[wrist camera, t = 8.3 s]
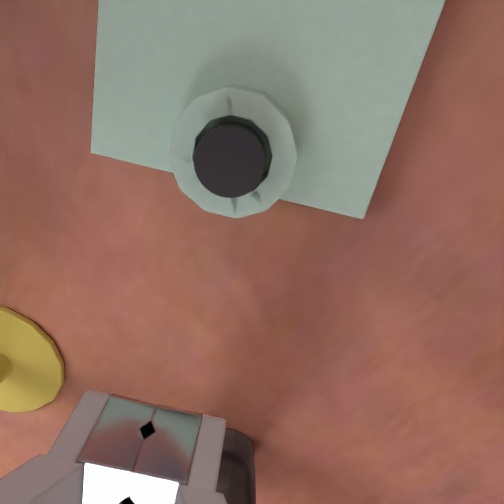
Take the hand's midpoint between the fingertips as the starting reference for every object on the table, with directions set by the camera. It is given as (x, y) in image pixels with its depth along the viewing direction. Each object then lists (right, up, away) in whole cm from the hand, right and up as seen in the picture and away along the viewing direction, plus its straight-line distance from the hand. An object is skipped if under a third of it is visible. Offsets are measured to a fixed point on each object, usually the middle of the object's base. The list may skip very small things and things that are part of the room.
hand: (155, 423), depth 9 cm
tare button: (+1, +8, +11) cm, 14 cm away
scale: (+3, +14, +11) cm, 18 cm away
